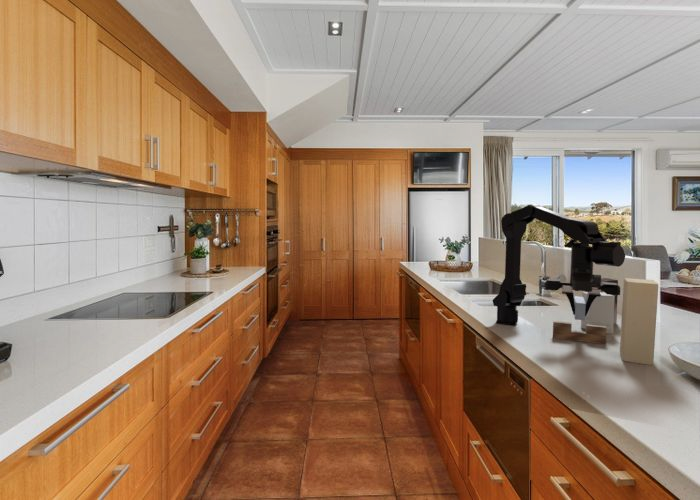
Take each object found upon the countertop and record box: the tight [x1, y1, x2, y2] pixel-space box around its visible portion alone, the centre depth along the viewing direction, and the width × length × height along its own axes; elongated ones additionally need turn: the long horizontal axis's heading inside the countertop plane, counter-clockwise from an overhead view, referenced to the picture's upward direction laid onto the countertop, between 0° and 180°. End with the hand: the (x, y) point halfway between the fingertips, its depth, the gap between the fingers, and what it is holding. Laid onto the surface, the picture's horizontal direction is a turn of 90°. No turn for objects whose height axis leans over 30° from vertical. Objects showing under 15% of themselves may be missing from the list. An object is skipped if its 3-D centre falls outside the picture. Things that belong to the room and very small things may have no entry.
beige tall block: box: [619, 277, 659, 366], centre depth 100 cm, size 8×7×21 cm
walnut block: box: [552, 320, 607, 345], centre depth 117 cm, size 14×2×5 cm, turn 61°
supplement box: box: [580, 291, 615, 335], centre depth 128 cm, size 7×7×13 cm
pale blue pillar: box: [573, 295, 586, 321], centre depth 117 cm, size 2×12×5 cm, turn 151°
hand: (579, 315), depth 113 cm, fingers closed on pale blue pillar, 2 cm apart
